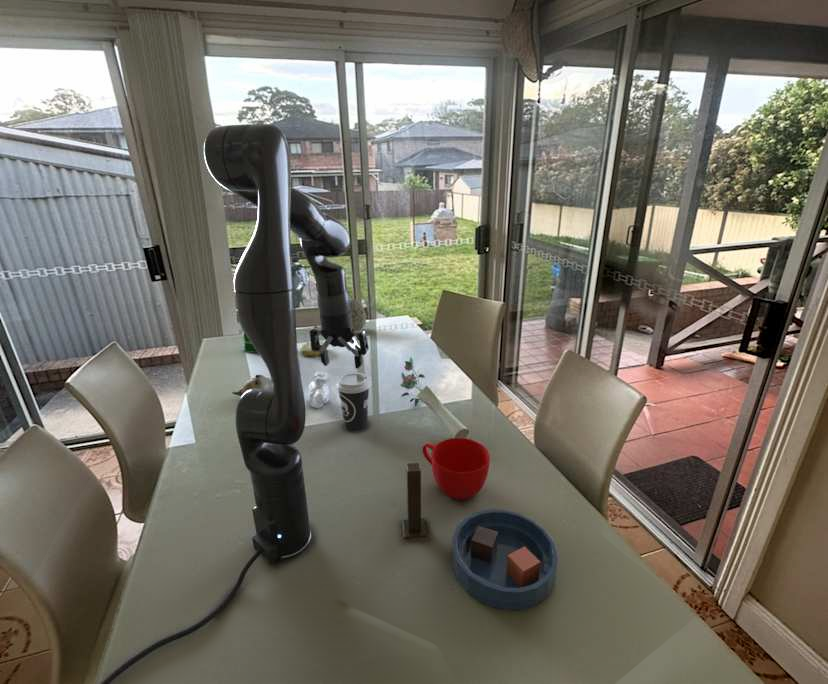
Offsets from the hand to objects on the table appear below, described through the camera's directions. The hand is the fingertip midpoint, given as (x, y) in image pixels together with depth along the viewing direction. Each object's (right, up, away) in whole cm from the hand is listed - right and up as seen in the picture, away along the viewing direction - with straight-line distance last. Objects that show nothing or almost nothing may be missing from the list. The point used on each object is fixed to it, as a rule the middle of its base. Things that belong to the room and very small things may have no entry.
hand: (342, 365), depth 112 cm
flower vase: (+23, -16, +20) cm, 35 cm away
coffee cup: (+2, -18, +15) cm, 24 cm away
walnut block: (+32, -34, -29) cm, 55 cm away
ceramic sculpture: (-32, -13, +30) cm, 46 cm away
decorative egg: (-9, +11, +90) cm, 91 cm away
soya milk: (-47, +3, +70) cm, 84 cm away
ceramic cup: (+27, -28, -10) cm, 40 cm away
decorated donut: (-22, +2, +67) cm, 70 cm away
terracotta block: (+38, -36, -33) cm, 62 cm away
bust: (-12, -13, +28) cm, 33 cm away
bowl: (+35, -36, -31) cm, 59 cm away
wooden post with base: (+18, -33, -23) cm, 44 cm away
